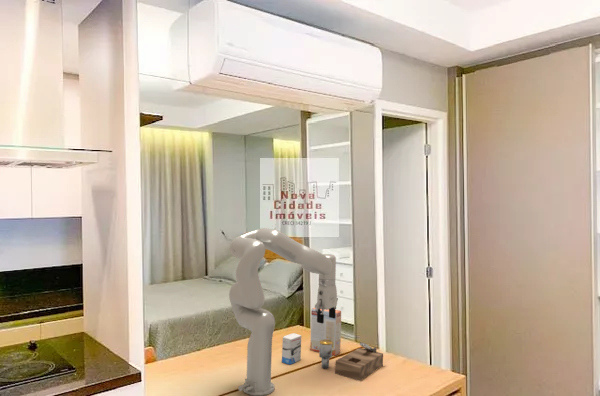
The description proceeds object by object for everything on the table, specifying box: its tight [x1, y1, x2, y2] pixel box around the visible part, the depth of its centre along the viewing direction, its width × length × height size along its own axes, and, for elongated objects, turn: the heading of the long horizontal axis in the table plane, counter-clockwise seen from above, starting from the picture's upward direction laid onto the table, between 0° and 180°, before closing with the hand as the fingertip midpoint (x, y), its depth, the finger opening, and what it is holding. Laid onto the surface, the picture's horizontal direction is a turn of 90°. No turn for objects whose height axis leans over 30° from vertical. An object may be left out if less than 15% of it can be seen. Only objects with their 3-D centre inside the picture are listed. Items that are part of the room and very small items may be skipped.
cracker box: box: [309, 307, 342, 357], centre depth 225 cm, size 14×6×21 cm, turn 58°
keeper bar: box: [359, 342, 374, 352], centre depth 208 cm, size 10×3×1 cm
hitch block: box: [334, 346, 384, 382], centre depth 203 cm, size 22×12×8 cm, turn 144°
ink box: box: [281, 332, 302, 366], centre depth 211 cm, size 8×5×12 cm, turn 143°
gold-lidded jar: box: [318, 340, 333, 370], centre depth 204 cm, size 6×6×12 cm
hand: (326, 320), depth 204 cm, fingers open, 9 cm apart
